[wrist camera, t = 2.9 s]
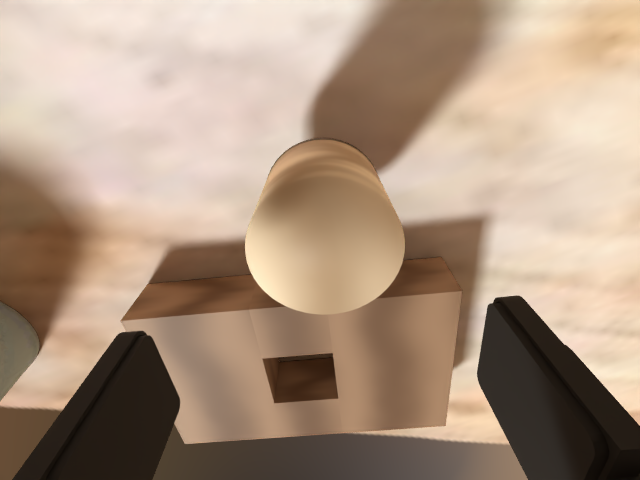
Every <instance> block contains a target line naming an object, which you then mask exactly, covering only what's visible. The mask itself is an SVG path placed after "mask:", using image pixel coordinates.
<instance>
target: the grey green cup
mask: <svg viewBox="0 0 640 480" xmlns="http://www.w3.org/2000/svg"><path fill="white" fill-rule="evenodd" d="M39 347H40V343H39V338H38V335H37V333H36V331H35V330H34V328H33V327H32V326H31V324H30V323H29V322H28V321H27V320H26V319H25V318H24V317H23V316H22V315H20V314H19V313H18V312H17V311H15V310H14V309H12V308H11V307H9V306H7V305H6V304H4V303H2V302H0V401H1V400H2V398H3V397H4V396H5V395H6V394H7V392H8V391H9V390H10V389H11V387H12V386H13V385H14V384H15V382H16V381H17V380H18V379H19V377H20V376H21V375H22V374H23V373H24V372H25V371H26V370H27V368H28V367H29V366H30V365H31V364H32V363H33V361H34V360H35V358H36V357H37V354H38V351H39Z"/></svg>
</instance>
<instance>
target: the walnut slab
mask: <svg viewBox="0 0 640 480" xmlns="http://www.w3.org/2000/svg"><path fill="white" fill-rule="evenodd" d="M461 298H462V290H461V288H460V286H459V285H458V283H457V281H456V280H455V278H454V276H453V275H452V273H451V272H450V270H449V268H448V267H447V265H446V263H445V262H444V260H443V258H442V257H435V258H424V259H414V260H403V262H402V265H401V268H400V270H399V272H398V274H397V276H396V278H395V279H394V281H393V282H392V283H391V285H390V286H389V287H388V288H387V289H386V290H385V291H384V292H383V293H382V294H381V295H380V296H378V297H377V298H376V299H374V300H373V301H371V302H370V303H368V304H366V305H364V306H362V307H360V308H357V309H354V310H351V311H348V312H344V313H338V314H327V315H321V314H310V313H304V312H301V311H297V310H294V309H291V308H289V307H286V306H285V305H283V304H281V303H279V302H277V301H276V300H274V299H273V298H271V297H270V296H269V295H268V294H267V293H266V292H264V290H263V289H262V288H261V287H260V286H259V285H258V283H257V282H256V280H255V279H254V278H253V276H252V274H251V275H241V276H230V277H219V278H208V279H197V280H187V281H176V282H165V283H154V284H147V286H146V287H145V288H144V290H143V291H142V293H141V294H140V295H139V297H138V298H137V299H136V301H135V302H134V303H133V305H132V306H131V308H130V309H129V310H128V312H127V313H126V314H125V316H124V317H123V318H122V320H121V323H122V325H123V326H124V328H125V330H126V332H131V331H144V332H146V334H147V335H150V336H151V337H152V338H153V340H154V342H155V344H156V347H157V349H158V351H159V353H160V355H161V358H162V360H163V362H164V364H165V366H166V369H167V371H168V373H169V375H170V377H171V380H172V382H173V384H174V386H175V388H176V391H177V393H178V395H179V397H180V409H179V412H178V415H177V418H176V420H175V423H174V424H175V425H176V427H177V429H178V431H179V433H180V435H181V437H182V439H183V441H184V443H185V444H191V443H205V442H219V441H233V440H249V439H262V438H278V437H292V436H307V435H321V434H335V433H350V432H364V431H379V430H393V429H407V428H422V427H436V426H445V425H446V417H447V409H448V402H449V394H450V386H451V378H452V370H453V362H454V354H455V346H456V338H457V330H458V322H459V314H460V306H461ZM326 353H333V358H324V359H311V360H299V361H286V362H279V358H278V357H289V356H301V355H314V354H326Z"/></svg>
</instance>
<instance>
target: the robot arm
mask: <svg viewBox="0 0 640 480" xmlns="http://www.w3.org/2000/svg"><path fill="white" fill-rule="evenodd" d="M477 377H478V381H479V384H480V386H481V389H482V390H483V392H484V394H485V396H486V398H487V400H488V402H489V404H490V406H491V408H492V410H493V412H494V414H495V416H496V418H497V420H498V422H499V424H500V426H501V428H502V429H503V431H504V433H505V435H506V437H507V439H508V441H509V443H510V445H511V447H512V449H513V451H514V453H515V455H516V457H517V459H518V461H519V463H520V465H521V466H522V468H523V470H524V472H525V474H526V476H527V478H528V480H640V426H639V425H638V423H637V422H636V421H635V420H634V419H633V418H632V417H631V416H630V415H629V413H628V412H627V411H626V410H625V409H624V408H623V407H622V406H621V404H620V403H619V402H618V401H617V400H616V399H615V398H614V397H613V396H612V394H611V393H610V392H609V391H608V390H607V389H606V388H605V387H604V386H603V384H602V383H601V382H600V381H599V380H598V379H597V378H596V377H595V375H594V374H593V373H592V372H591V371H590V370H589V369H588V368H587V367H586V365H585V364H584V363H583V362H582V361H581V360H580V359H579V358H578V356H577V355H576V354H575V353H574V352H573V351H572V350H571V349H570V348H569V347H568V346H566V345H564V344H563V343H562V342H561V341H560V339H559V338H558V337H557V336H556V335H555V334H554V333H553V332H552V330H551V329H550V328H549V327H548V326H547V325H546V324H545V322H544V321H543V320H542V319H541V318H540V317H539V316H538V315H537V313H536V312H535V311H534V310H533V309H532V308H531V307H530V306H529V304H528V303H527V302H526V301H525V300H524V299H523V298H522V297H521V296H508V297H498V298H495V300H494V302H493V303H492V304H489V305H488V308H487V314H486V320H485V327H484V333H483V339H482V345H481V352H480V358H479V364H478V370H477ZM179 409H180V397H179V395H178V393H177V391H176V388H175V386H174V384H173V382H172V380H171V377H170V375H169V373H168V371H167V369H166V366H165V364H164V362H163V360H162V358H161V355H160V353H159V351H158V349H157V347H156V344H155V342H154V340H153V338H152V337H151V336H150V335H147V334H146V332H144V331H131V332H122V333H120V334H118V335H117V336H116V338H115V339H114V340H113V342H112V343H111V344H110V346H109V347H108V349H107V350H106V351H105V353H104V354H103V355H102V357H101V358H100V360H99V361H98V362H97V364H96V365H95V366H94V368H93V369H92V371H91V372H90V373H89V375H88V376H87V378H86V379H85V380H84V382H83V383H82V384H81V386H80V387H79V389H78V390H77V391H76V393H75V394H74V395H73V397H72V398H71V400H70V401H69V402H68V404H67V405H66V406H65V408H64V409H63V411H62V412H61V413H60V415H59V416H58V417H57V419H56V420H55V422H54V423H53V425H52V426H51V427H50V428H49V430H48V431H47V433H46V434H45V435H44V437H43V438H42V439H41V441H40V442H39V444H38V445H37V446H36V448H35V449H34V450H33V452H32V453H31V455H30V456H29V458H28V459H27V460H26V461H25V463H24V464H23V466H22V467H21V469H20V470H19V471H18V473H17V474H16V475H15V477H14V478H13V479H12V480H152V479H153V476H154V474H155V471H156V469H157V466H158V464H159V461H160V459H161V456H162V453H163V451H164V448H165V445H166V443H167V441H168V437H169V436H170V433H171V430H172V428H173V425H174V423H175V420H176V418H177V415H178V412H179Z"/></svg>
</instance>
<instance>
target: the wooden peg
mask: <svg viewBox="0 0 640 480" xmlns="http://www.w3.org/2000/svg"><path fill="white" fill-rule="evenodd" d="M404 252H405V237H404V232H403V228H402V225H401V223H400V220H399V218H398V216H397V214H396V212H395V210H394V208H393V206H392V204H391V202H390V199H389V197H388V195H387V193H386V191H385V189H384V187H383V185H382V183H381V181H380V179H379V177H378V175H377V172H376V170H375V168H374V166H373V165H372V163H371V162H370V160H369V159H368V158H367V157H366V156H365V155H364V154H363V153H362V152H361V151H360V150H358V149H357V148H356V147H354V146H352V145H350V144H349V143H346V142H343V141H341V140H336V139H331V138H315V139H310V140H306V141H303V142H300V143H298V144H296V145H294V146H292V147H291V148H289V149H288V150H286V151H285V152H284V153H283V154H282V155H281V156H280V157H279V158H278V159H277V160H276V162H275V163H274V165H273V166H272V168H271V170H270V173H269V175H268V178H267V181H266V183H265V186H264V188H263V191H262V194H261V196H260V199H259V201H258V204H257V206H256V209H255V211H254V214H253V216H252V219H251V221H250V224H249V226H248V230H247V233H246V239H245V254H246V260H247V264H248V267H249V270H250V272H251V274H252V276H253V278H254V279H255V280H256V282H257V283H258V285H259V286H260V287H261V288H262V289H263V290H264V292H266V293H267V294H268V295H269V296H270V297H271V298H273V299H274V300H276V301H277V302H279V303H281V304H283V305H285V306H286V307H289V308H291V309H294V310H297V311H301V312H304V313H310V314H321V315H327V314H338V313H344V312H348V311H351V310H354V309H357V308H360V307H362V306H364V305H366V304H368V303H370V302H371V301H373V300H374V299H376V298H377V297H378V296H380V295H381V294H382V293H383V292H384V291H385V290H386V289H387V288H388V287H389V286H390V285H391V283H392V282H393V281H394V279H395V278H396V276H397V274H398V272H399V270H400V268H401V265H402V262H403V258H404Z"/></svg>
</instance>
